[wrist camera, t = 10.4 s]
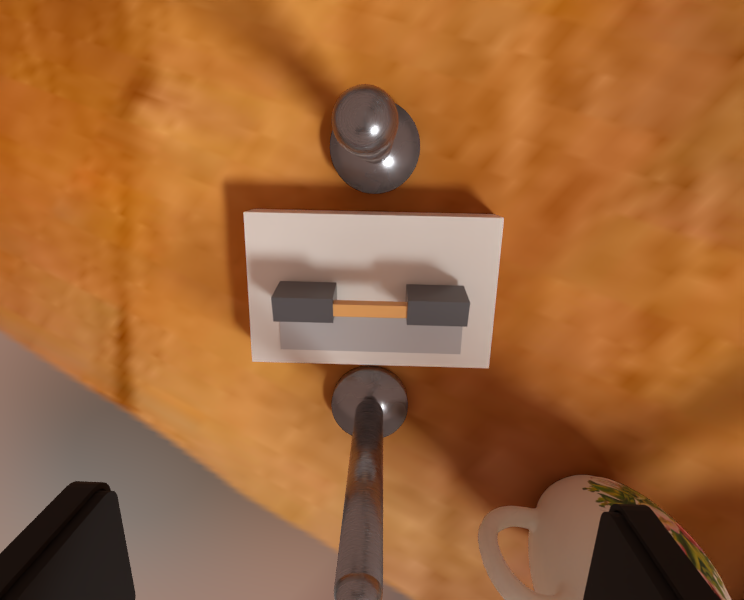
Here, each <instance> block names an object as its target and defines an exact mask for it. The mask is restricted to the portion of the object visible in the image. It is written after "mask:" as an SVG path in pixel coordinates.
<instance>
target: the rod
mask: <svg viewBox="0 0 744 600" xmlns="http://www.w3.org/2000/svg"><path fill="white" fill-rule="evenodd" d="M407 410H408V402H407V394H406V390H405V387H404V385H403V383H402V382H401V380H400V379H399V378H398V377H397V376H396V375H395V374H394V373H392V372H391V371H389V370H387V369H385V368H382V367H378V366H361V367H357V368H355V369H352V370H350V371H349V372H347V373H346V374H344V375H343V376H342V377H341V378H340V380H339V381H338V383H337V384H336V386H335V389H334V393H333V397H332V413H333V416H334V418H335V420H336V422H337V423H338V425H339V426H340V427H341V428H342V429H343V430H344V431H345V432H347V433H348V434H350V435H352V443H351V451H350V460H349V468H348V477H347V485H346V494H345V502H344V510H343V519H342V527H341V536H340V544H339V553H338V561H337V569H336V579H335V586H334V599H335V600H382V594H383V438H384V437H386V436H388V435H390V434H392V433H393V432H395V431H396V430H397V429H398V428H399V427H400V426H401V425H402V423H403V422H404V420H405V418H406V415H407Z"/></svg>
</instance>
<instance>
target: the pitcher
mask: <svg viewBox="0 0 744 600" xmlns="http://www.w3.org/2000/svg"><path fill="white" fill-rule="evenodd" d="M613 504H637V505H646V506H648V507H650V508H651V509H652V510H653V512H654V513H655V514H656V516H657V517H658V518H659V520H660V521H661V522H662V523H663V525H664V526H665V527H666V529H667V530H668V531H669V533H670V534H671V535H672V537H673V538H674V539H675V541H676V542H677V543H678V545H679V546H680V547H681V549H682V550H683V551H684V553H685V554H686V555H687V557H688V558H689V559H690V561H691V562H692V563H693V565H694V566H695V567H696V569H697V570H698V571H699V573H700V574H701V575H702V576H703V578H704V579H705V580H706V582H707V583H708V584H709V586H710V587H711V588H712V590H713V591H714V592H715V593H716V594H717V595H718V596H719V597H720V599H721V600H731V598H730V596H729V594H728V592H727V589H726V587H725V585H724V583H723V581H722V579H721V577H720V575H719V574H718V572H717V570H716V569H715V567H714V566H713V564H712V563H711V561H710V560H709V559H708V557H707V556H706V554H705V553H704V552H703V550H702V549H701V548H700V546H699V545H698V544H697V543H696V542H695V541H694V539H693V538H692V537H691V536H690V535H689V534H688V533H687V532H686V531H685V530H684V529H683V528H682V527H681V526H680V525H679V524H678V523H677V522H676V521H675V520H674V519H673V518H672V517H671V516H670V515H669V514H667V513H666V512H665V511H664V510H663V509H661V508H660V507H659V506H657V505H656V504H655V503H653V502H652V501H650V500H649V499H648V498H646V497H645V496H643V495H641V494H640V493H638V492H636V491H635V490H633V489H631V488H629V487H627V486H625V485H623V484H621V483H618V482H616V481H613V480H610V479H607V478H603V477H596V476H591V475H574V476H569V477H566V478H563V479H561V480H559V481H557V482H555V483H554V484H552V485H551V486H549V487H548V488H547V489H546V490H545V492H544V493H543V494H542V496H541V497H540V499H539V501H538V504H537V507H536V508H528V507H521V506H503V507H499V508H496V509H493V510H492V511H490V512H489V513H488V514H487V515H486V516H485V517H484V519H483V521H482V523H481V525H480V527H479V532H478V543H479V549H480V553H481V557H482V560H483V564H484V566H485V569H486V571H487V573H488V576H489V577H490V579H491V581H492V583H493V584H494V586H495V588H496V589H497V590H498V592H499V593H500V594H501V596H502V597H503V598H504V599H505V600H583V597H584V592H585V587H586V583H587V578H588V573H589V569H590V564H591V559H592V555H593V550H594V545H595V541H596V536H597V531H598V527H599V522H600V517H601V514H602V513H603V512H609V509H610V507H611V506H612V505H613ZM508 527H522V528H526V529H529V537H528V552H529V565H530V571H531V577H532V582H533V586H534V590H535V591H533V590H531V589H529V588H528V587H527V586H525V585H524V584H523V583H522V582H521V581H520V580H519V579H518V578H517V577H516V576H515V575H514V573H513V572H512V571H511V570H510V568H509V566H508V565H507V563H506V562H505V560H504V558H503V556H502V554H501V551H500V548H499V545H498V539H497V535H498V532H500V531H501V530H503V529H505V528H508Z"/></svg>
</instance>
